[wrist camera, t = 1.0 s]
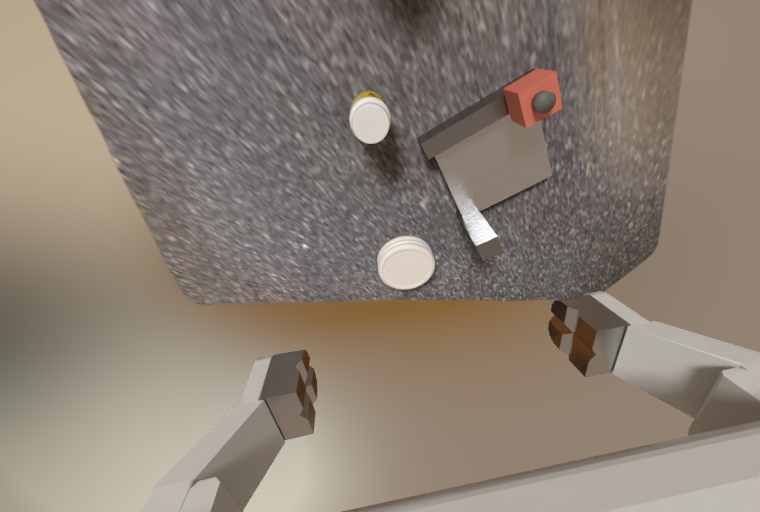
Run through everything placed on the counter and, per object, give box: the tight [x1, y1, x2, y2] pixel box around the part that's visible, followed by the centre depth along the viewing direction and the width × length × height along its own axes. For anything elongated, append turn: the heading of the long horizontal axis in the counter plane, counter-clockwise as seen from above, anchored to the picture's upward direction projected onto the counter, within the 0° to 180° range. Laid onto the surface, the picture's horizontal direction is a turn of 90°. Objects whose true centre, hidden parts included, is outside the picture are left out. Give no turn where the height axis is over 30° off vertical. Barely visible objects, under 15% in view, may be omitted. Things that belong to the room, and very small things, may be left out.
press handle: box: [503, 69, 562, 128], centre depth 32 cm, size 4×4×5 cm
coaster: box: [377, 236, 435, 290], centre depth 51 cm, size 10×10×4 cm
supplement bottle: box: [349, 91, 391, 144], centre depth 34 cm, size 5×5×8 cm
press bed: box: [418, 69, 552, 261], centre depth 38 cm, size 16×17×10 cm
